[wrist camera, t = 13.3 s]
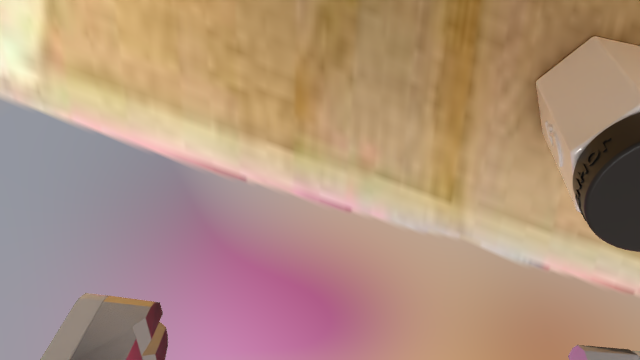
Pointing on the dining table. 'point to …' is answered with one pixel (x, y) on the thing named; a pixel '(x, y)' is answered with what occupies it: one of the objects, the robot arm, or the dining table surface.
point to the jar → (597, 135)
